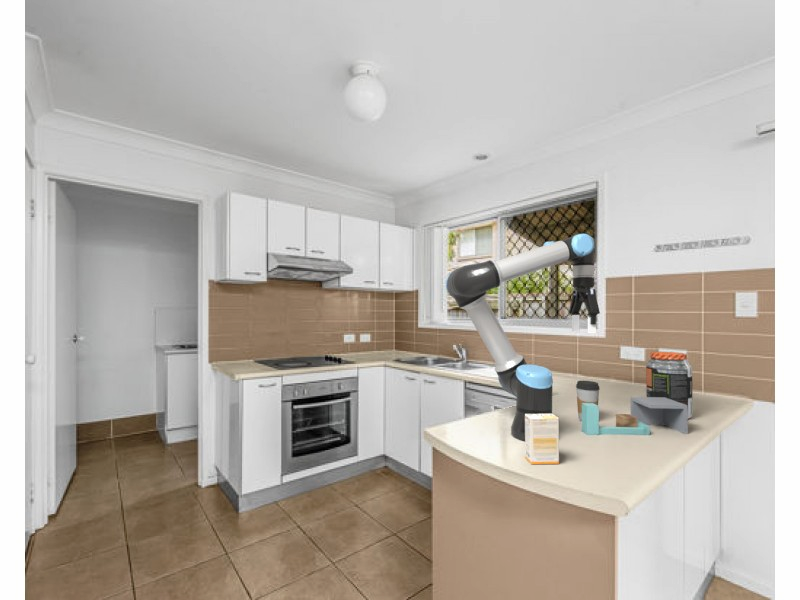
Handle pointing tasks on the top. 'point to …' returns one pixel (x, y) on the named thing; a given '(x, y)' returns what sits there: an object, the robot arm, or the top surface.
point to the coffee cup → (586, 394)
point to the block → (626, 420)
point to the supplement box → (542, 438)
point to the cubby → (660, 412)
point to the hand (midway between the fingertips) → (583, 332)
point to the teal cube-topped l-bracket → (592, 427)
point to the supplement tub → (670, 378)
